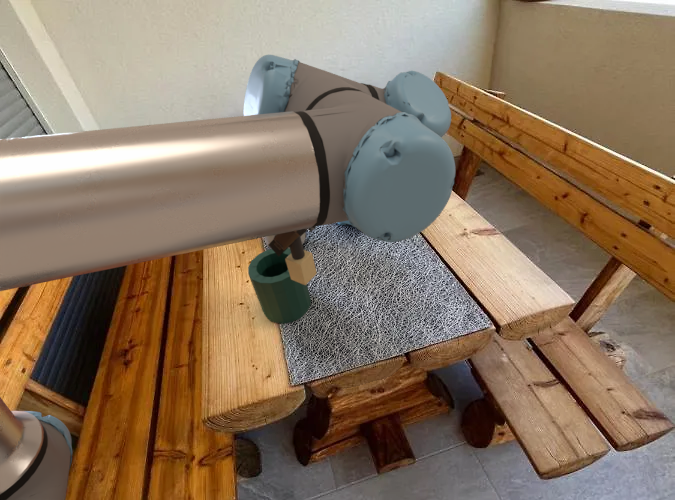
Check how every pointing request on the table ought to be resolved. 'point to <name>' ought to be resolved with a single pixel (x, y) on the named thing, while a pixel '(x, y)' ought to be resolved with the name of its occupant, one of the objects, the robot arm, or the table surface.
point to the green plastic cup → (278, 288)
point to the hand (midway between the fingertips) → (280, 244)
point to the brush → (300, 263)
